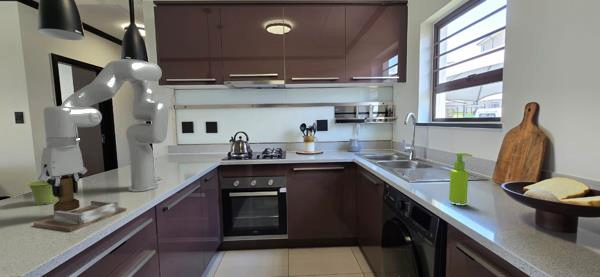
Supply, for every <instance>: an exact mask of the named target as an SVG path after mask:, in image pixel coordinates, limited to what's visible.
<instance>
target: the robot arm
mask: <svg viewBox="0 0 600 277" xmlns="http://www.w3.org/2000/svg"><path fill="white" fill-rule="evenodd" d="M162 74H163V73H162V69H161V67H160V66H159V65H158V64H156V63H155V62H151V61H142V60H135V59H133V60H132V59H126V60H125V59H124V60H123V59H122V60H121V59H120V60H112V61H110V62H108V63H107V64H106V65H105V66H104V67H103V68H102V70H101V71H100V72H99V73H98V75H97V76H96V77H95V78H94V79H93V81H92V82H90V83H89V84H87V85H85V86H84V87H81V88H80V89H78V90H77V91H75V92H74V93H72V94H70V95H69V96H68V97H67V98H65V100H64V101H63V102H62V103H61V105H59V106H57V105H54V106H53V105H51V106H45V107H44V109H43V119H44V121H43V122H44V129H45V133H44V134H45V144H46V147H43V148H42V151H41V152H42V153H41V160H40V169H41V170H40V172H41V173H40V174H39V176H38V178H37V181H44V182H46V183H48V184H50V185H51V186H52V192H53V195H54V197H57V198H58V197H62V196H63V195H62V186H61V185H60V178H61V176H65V175H68V177H72V180H73V194H79V193H78V192H79V191H78V190H79V183H78V182H80V179H81V178H82V176H83V175H84V174H86V173H87V172H88V169H87V168H86V167H85V166H84V162H83V160H84V159H83V156H82V155H83V154H82V150H81V149H80V146H79V145H78V143H79V142H80V141H81V139H80V138H79V137H77V132H76V131H77V130H76V128H92V127H95V126H98V125H99V124H100V123H101V121H102V119H103V116H102V113H101V111H99V109H98V108H95V107H92V106H93V105H96V104H99V103H102V102H104V101H107V100H110V99H112V98H113V97H115V96H116V94H117V93H118V91H119V90H120V89H121V87H122V86H123V85H124V83H125V82H127V81H128V82H129V84H130V85H131V86H132V89H133V102H132V112H131V113H132V117H133V119H134V120H136V121H139V122H151V123H134V124H131V125H129V126H128V127H127V129H126V131H125V135H126V136H125V137H126V140H127V144H128V151H129V163H130V164H129V165H130V177H131V178H130V179H131V183H130V184H131V185H129V186H127V190H128V192H136V193H137V192H146V191H150V190H151V191H152V190H154V189H156V188H158V187H159V184H158V183H157V182H159V181H162V180H163V178H162V176H157V177H156V176H155V165H154V151H153V148H152V146H151V145H152V144H161V143H163V142H165V140H166V139H167V134H168V124H169V108H168V107H167V105H166V104H165V103H164V102H162V101H157V100H156V101H155V91H154V88H153V87H152V85H151V84H150V83H149V82H157V81H159V80H160V79H161V78H162ZM150 144H151V145H150ZM48 177H50V178H48Z"/></svg>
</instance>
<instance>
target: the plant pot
mask: <svg viewBox="0 0 600 277" xmlns="http://www.w3.org/2000/svg"><path fill="white" fill-rule="evenodd" d="M27 185H28V186H29V188H30V189H31V193H32V196H33V199H34V202H35V203H34V204H35V205H36V206H43V205H45V204H46V205H47V204H48V205H49V204H55V203H56V202H58V197H54V195H53V192H52V186H51V185H50V184H48V183H46V182H44V181H40V180H37V181H31V182H29V183H27Z"/></svg>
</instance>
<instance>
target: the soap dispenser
mask: <svg viewBox="0 0 600 277" xmlns="http://www.w3.org/2000/svg"><path fill="white" fill-rule="evenodd" d="M455 156H456V157H457V158H456V161H454V165H453V166H454V168H453V169H450V172H449V177H450V178H449V196H448V198H449V199H448V201H449V200H450V201H451V202H454V203H460V204H465V203H467V204H468V185H469V184H468V183H469V182H468V181H469V171H468V170H465V164H466V163H465V161H463V156H468V157H473V155H472V154H469V153H463V152H460V153H459V152H458V153H456V152H455Z"/></svg>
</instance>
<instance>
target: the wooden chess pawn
mask: <svg viewBox="0 0 600 277" xmlns="http://www.w3.org/2000/svg"><path fill="white" fill-rule="evenodd" d="M60 185H61V186H62V195H63V196H62V197H57V199H58V200H57V201H56V202H54V203H53V213H54V212H55V211H64V212H71V211H74V210H77V209H80V206H81V205H80V200H78V199H77V198H75V197H74V196H75V195H74V194H75V193H73V180H72V177H69V175H65V176H61V177H60Z"/></svg>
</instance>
